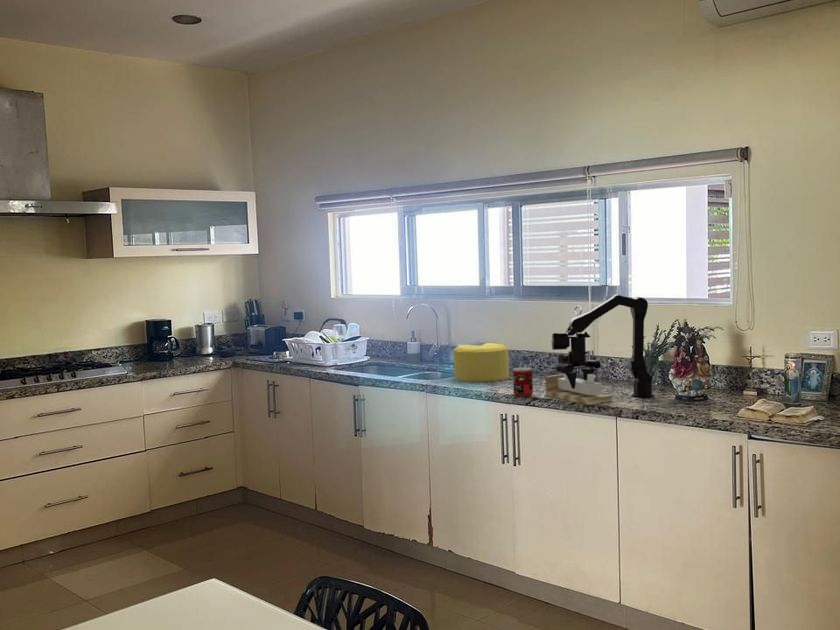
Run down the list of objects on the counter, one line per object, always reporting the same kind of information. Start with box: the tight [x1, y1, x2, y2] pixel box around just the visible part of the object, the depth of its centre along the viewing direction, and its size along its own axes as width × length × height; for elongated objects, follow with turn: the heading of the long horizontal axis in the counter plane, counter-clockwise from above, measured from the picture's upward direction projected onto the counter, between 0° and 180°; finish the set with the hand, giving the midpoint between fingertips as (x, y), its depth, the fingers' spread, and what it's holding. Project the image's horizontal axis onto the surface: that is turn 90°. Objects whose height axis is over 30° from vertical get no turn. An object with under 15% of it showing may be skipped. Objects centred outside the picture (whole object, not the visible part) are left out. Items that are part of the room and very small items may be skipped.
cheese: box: [453, 342, 510, 383], centre depth 378 cm, size 26×26×15 cm
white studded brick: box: [558, 373, 602, 395], centre depth 316 cm, size 20×6×8 cm, turn 26°
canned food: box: [512, 366, 534, 397], centre depth 329 cm, size 8×8×11 cm
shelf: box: [545, 373, 613, 406], centre depth 317 cm, size 26×12×8 cm, turn 31°
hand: (579, 387), depth 316 cm, fingers closed on white studded brick, 6 cm apart
